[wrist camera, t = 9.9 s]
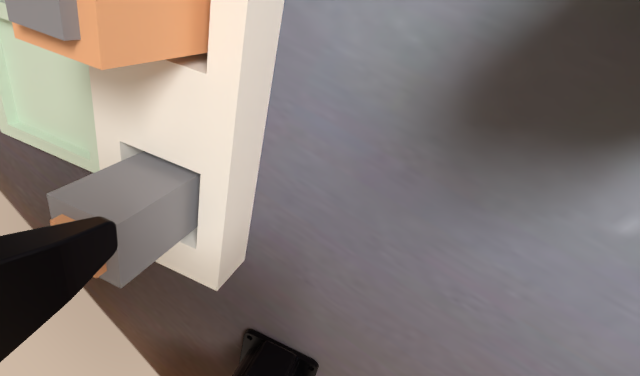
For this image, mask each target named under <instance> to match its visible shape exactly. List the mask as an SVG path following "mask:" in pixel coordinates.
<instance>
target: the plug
mask: <svg viewBox="0 0 640 376" xmlns="http://www.w3.org/2000/svg"><path fill="white" fill-rule="evenodd" d="M5 3H6V8H7V13H8V18H9V21H11V22H12V25H13V30H14V35H15V38H17V39H20V40H22V41H25V42H28V43H30V44H33V45H36V46H38V47H41V48H44V49H46V50H49V51H52V52H55V53H57V54H60V55H63V56H65V57H68V58H71V59H73V60H76V61H79V62H81V63H84V64H87V65H89V66H92V67H95V68H97V69H100V70H105V69H112V68H118V67H124V66H130V65H136V64H142V63H148V62H154V61H160V60H166V59H172V58H178V57H184V56H190V55H196V54H202V53H208V39H209V22H210V5H211V0H5Z"/></svg>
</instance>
